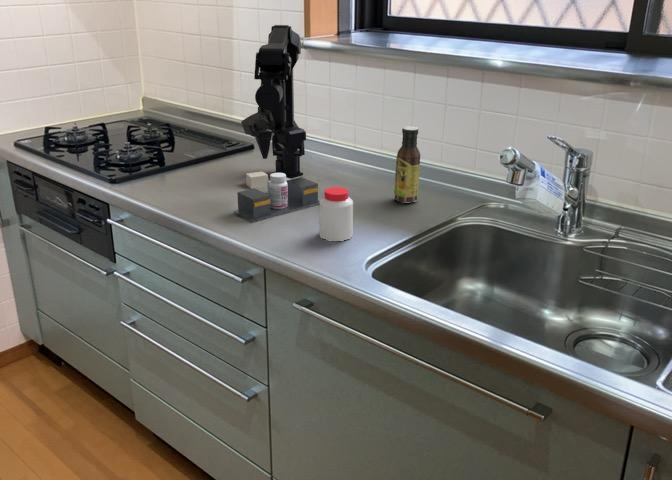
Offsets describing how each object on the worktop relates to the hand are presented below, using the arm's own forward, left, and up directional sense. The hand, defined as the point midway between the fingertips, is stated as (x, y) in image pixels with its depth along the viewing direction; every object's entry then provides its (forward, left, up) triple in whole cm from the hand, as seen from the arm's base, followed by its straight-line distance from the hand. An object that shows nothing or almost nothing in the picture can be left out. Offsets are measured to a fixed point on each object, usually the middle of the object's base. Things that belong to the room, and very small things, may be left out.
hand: (275, 162), depth 170 cm
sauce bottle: (-30, +18, -12) cm, 36 cm away
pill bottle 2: (0, +25, -12) cm, 27 cm away
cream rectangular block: (-6, -17, -12) cm, 22 cm away
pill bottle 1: (0, +2, -11) cm, 11 cm away
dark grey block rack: (0, +2, -12) cm, 12 cm away
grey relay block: (-7, -7, -12) cm, 16 cm away
